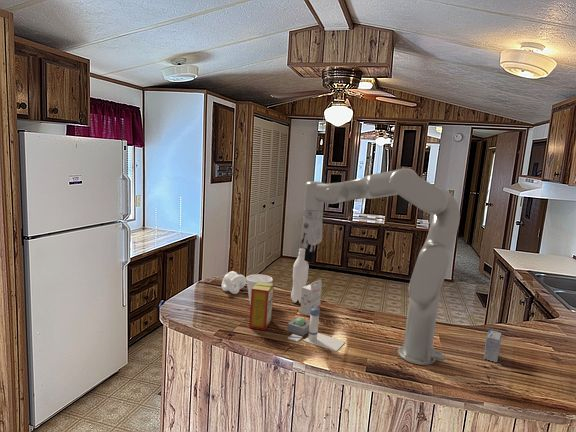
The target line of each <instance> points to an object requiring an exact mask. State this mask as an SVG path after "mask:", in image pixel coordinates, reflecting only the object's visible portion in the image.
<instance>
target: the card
mask: <svg viewBox="0 0 576 432" xmlns="http://www.w3.org/2000/svg"><path fill="white" fill-rule="evenodd" d="M302 339H303V336H301V335H298V334H295V333H292V334H291V335H289V336H288V337H287V340H291V341H294V342H297V343H298V342H299V341H300V340H302Z"/></svg>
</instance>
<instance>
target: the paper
mask: <svg viewBox="0 0 576 432" xmlns="http://www.w3.org/2000/svg"><path fill="white" fill-rule="evenodd" d="M308 337H309V335H307V337H306V338H305V339H303V342H305V343H308V344H310V345H311V344H312V345H315V346H317V347H320V348H321V347H322V348H325V349H326V350H330V351H333V352H338V351H339V350H340V348H342V347H343V346H344V345H345V343H346V342H347V341H345V340H342V339H339V338H336V337H332V336H329V335H326V334H322V333H319V332H318V334H317V341H315V342H311V341H309V340H308Z"/></svg>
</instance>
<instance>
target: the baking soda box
mask: <svg viewBox="0 0 576 432" xmlns="http://www.w3.org/2000/svg"><path fill="white" fill-rule="evenodd" d="M274 286H275V284H274V283H273V282H272V283H265V282H257V283H256V285H255V286H254V287H253V288H252V291H251V306H250V307H249V308H250V310H249V325H248V328H250V329H254V330H255V329H256V330H261V331H262V330H263V331H266V330H267V328H268V327H269V326H270V324H271V322H272V316H273V313H272V312H273V303H274V302H273V301H274Z"/></svg>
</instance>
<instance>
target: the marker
mask: <svg viewBox="0 0 576 432" xmlns="http://www.w3.org/2000/svg"><path fill="white" fill-rule="evenodd" d="M320 313H321V309H319V308H311V310H310V316H309V322H310V325H309V332H308V336H309V337H308V336H307V337H308V340H309V341H311V342H315V341H317V334H318V333H319V324H320V323H319V320H320Z"/></svg>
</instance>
